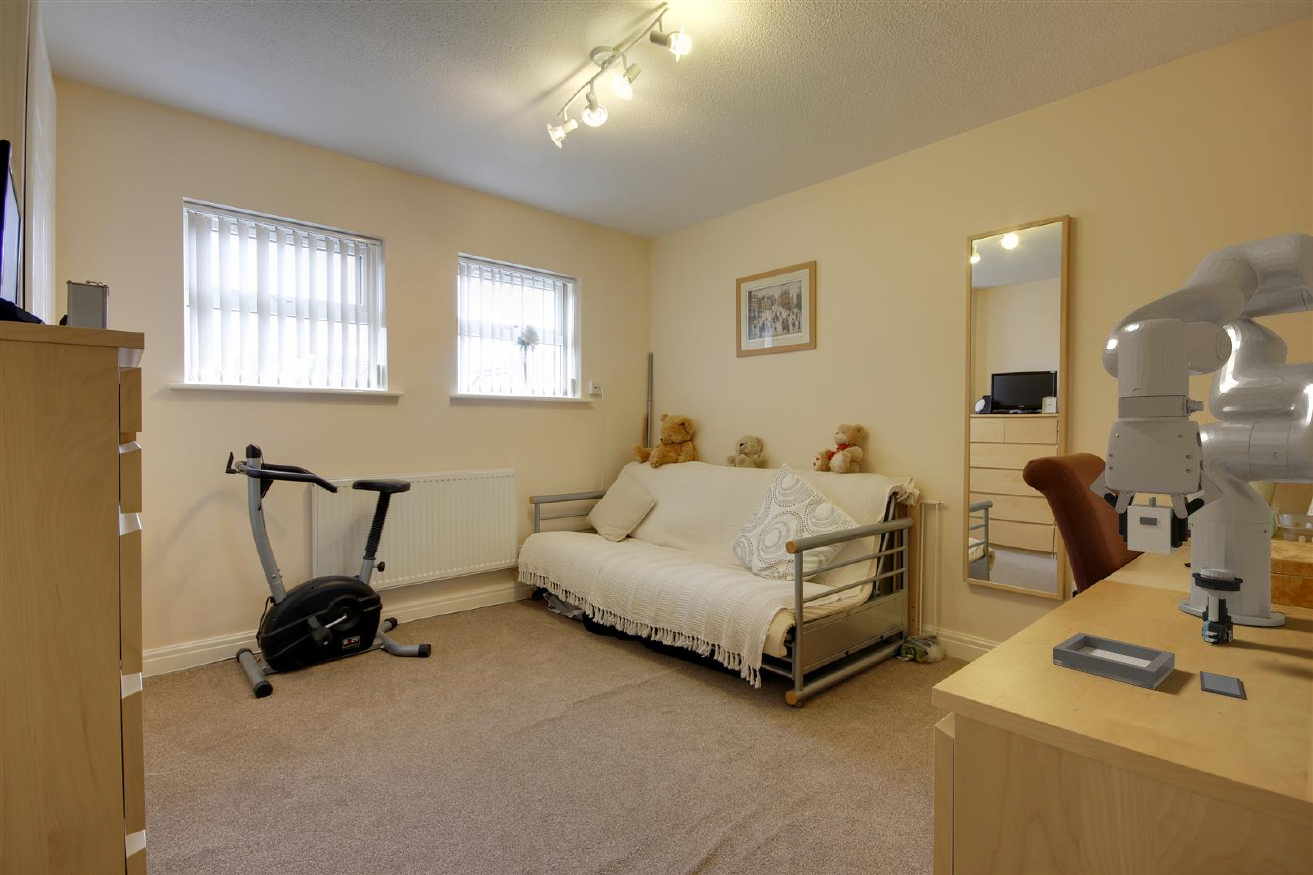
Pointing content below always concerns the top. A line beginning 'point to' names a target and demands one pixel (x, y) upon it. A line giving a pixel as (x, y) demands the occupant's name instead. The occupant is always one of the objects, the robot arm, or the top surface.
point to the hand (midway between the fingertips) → (1152, 542)
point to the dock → (1115, 660)
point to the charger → (1150, 528)
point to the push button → (1217, 602)
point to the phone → (1221, 685)
